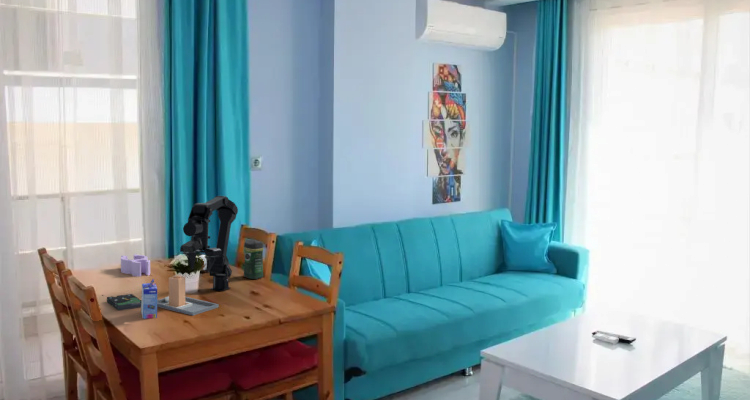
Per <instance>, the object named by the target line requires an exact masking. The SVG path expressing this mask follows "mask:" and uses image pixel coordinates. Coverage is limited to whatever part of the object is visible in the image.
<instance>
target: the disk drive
mask: <svg viewBox="0 0 750 400" xmlns="http://www.w3.org/2000/svg"><path fill="white" fill-rule="evenodd" d="M106 303H107V304H109V305H110V306H112V308H114V309H115V310H116V311H118V312H119V311H124V310H133V309H139V308H140V309H141V299H140V298H138V297H137V296H135V295H134V294H132V293H127V294H121V295H116V296H112V295H111V296H106Z"/></svg>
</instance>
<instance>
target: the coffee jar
mask: <svg viewBox="0 0 750 400" xmlns="http://www.w3.org/2000/svg"><path fill="white" fill-rule="evenodd" d="M243 250H244V265H243V266H244V267H243V276H244V277H245V278H247V279H251V280H253V279H254V280H259V279H258V278H260V279H261V278H264V266H263V265H264V263H263V262H264V261H263V260H264V257H263V255H264V242H263V241H259V240H257V239H246V240H245V241H244V243H243Z"/></svg>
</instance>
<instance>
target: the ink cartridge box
mask: <svg viewBox="0 0 750 400" xmlns="http://www.w3.org/2000/svg"><path fill="white" fill-rule="evenodd" d="M140 300H141V307H140V313H141V317H142V319H144V320H145V319H157V318H158V307H157V300H158V287H157V283H155V279H154V278H152V279H151V281H150V282H149V283H147V282H146V283H141V299H140Z"/></svg>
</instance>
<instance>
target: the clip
mask: <svg viewBox="0 0 750 400" xmlns="http://www.w3.org/2000/svg"><path fill="white" fill-rule="evenodd" d="M120 273H123V274H127V275H131V276H133V277H136V278H137V277H142V274H145V276H147V275H148V276H150V275H151V260H150V259H148V256H147V255H143V254H137V253H134V254H133V259H128V255H121V256H120Z"/></svg>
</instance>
